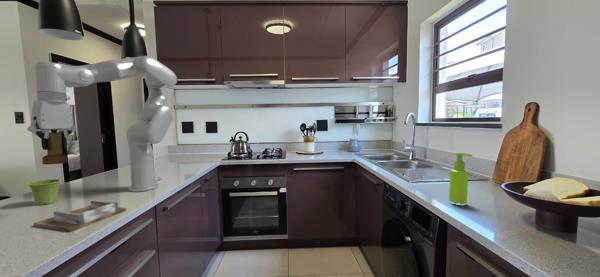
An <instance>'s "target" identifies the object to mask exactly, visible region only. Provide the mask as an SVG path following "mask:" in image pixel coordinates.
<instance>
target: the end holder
mask: <svg viewBox="0 0 600 277" xmlns="http://www.w3.org/2000/svg"><path fill="white" fill-rule="evenodd" d="M126 211H127V208H126V207H121V206H119V203H118V201H117V202H116V201H106V200H97V199H93V200H91V201H90V205H87V206H84V207H82V208H80V207H79V208H78V209H73V210H71V211H64V210H56V211H53V216H52V217H49V218H46V219H42V220H40V221H39V220H38V221H35V222H33V227H38V228H42V229H49V230H57V231H63V232H69V233H70V232H71V233H72V232H74V231H77V230H79V229H82V228H84V227H87V226H89V225H93V224H96V223H98V222H100V221H103V220H105V219H108V218H111V217H113V216H117V215H119V214H122V213H124V212H126Z"/></svg>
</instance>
